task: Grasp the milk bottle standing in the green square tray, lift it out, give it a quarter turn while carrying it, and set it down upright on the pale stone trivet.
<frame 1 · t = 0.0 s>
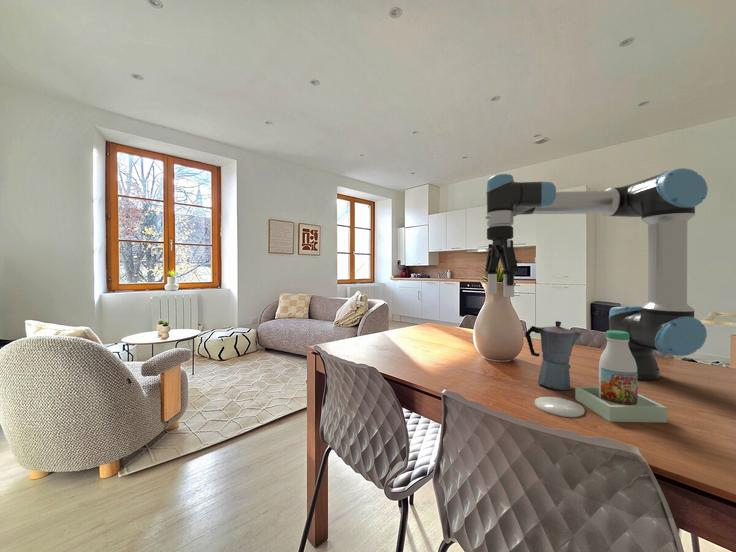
hand: (500, 295, 97), 28 cm above the table, fingers open, 13 cm apart
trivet: (558, 407, 81), on the table
moka pot: (552, 386, 97), on the table
milk bottle: (617, 410, 80), resting in green square tray
green square tray: (617, 409, 80), on the table
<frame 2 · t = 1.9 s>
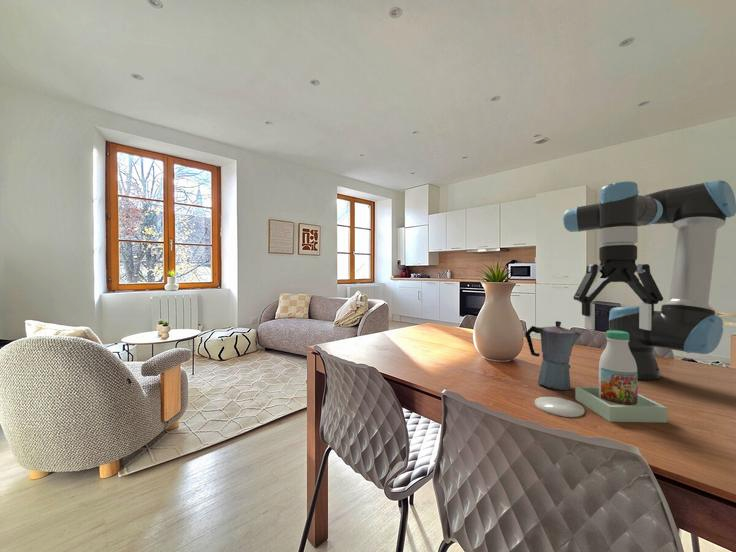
hand: (617, 329, 79), 21 cm above the table, fingers open, 13 cm apart
nothing on the table moved.
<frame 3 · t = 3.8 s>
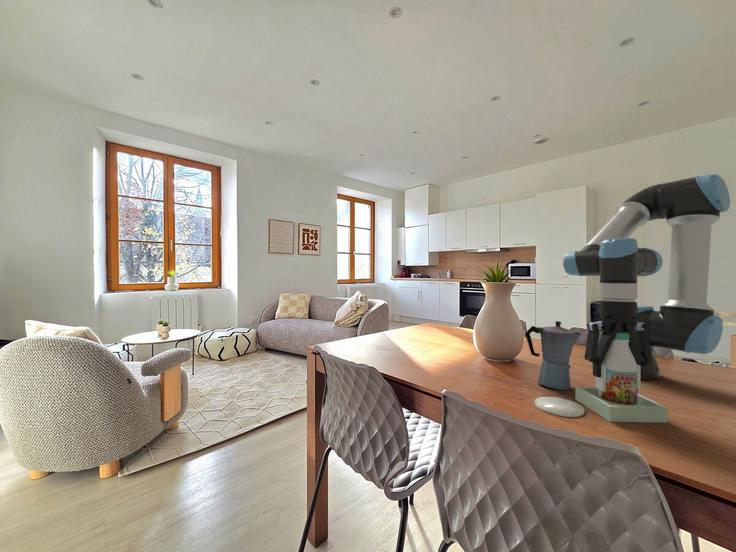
hand: (617, 389, 80), 5 cm above the table, fingers closed on milk bottle, 8 cm apart
milk bottle: (617, 410, 80), resting in green square tray, touching gripper
everything else where it was.
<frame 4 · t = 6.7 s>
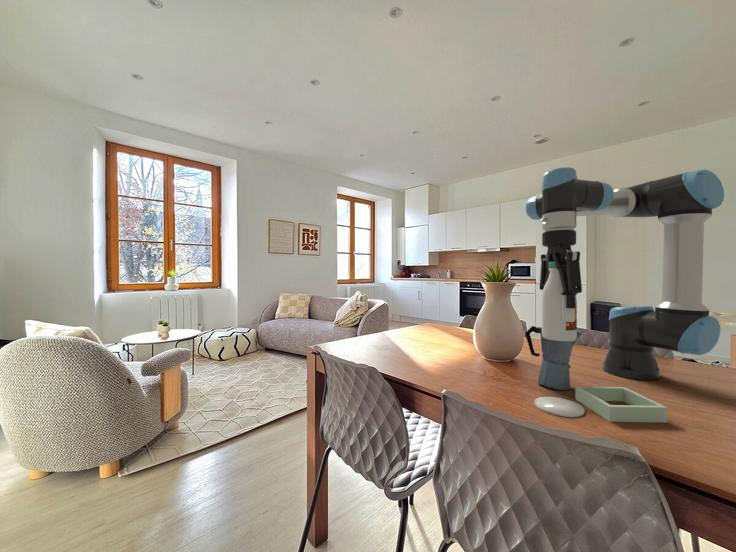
hand: (558, 318, 81), 23 cm above the table, fingers closed on milk bottle, 8 cm apart
milk bottle: (558, 339, 81), point 18 cm above the table, touching gripper
everything else where it was.
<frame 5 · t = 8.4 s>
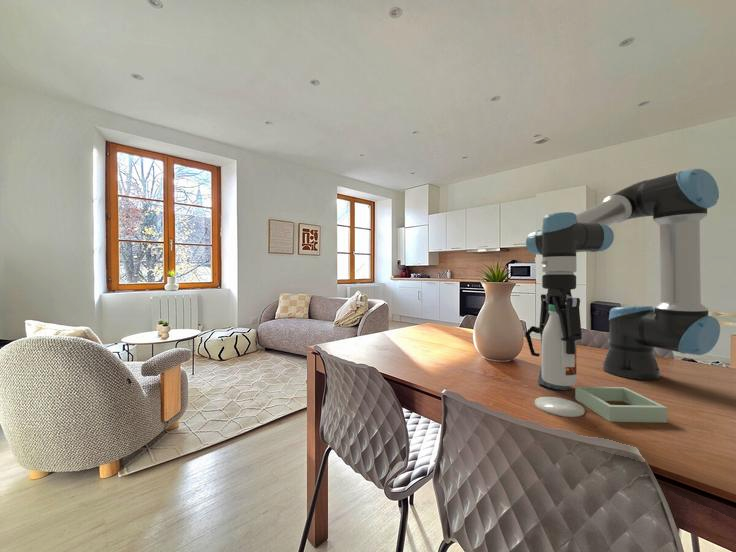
hand: (558, 361, 81), 12 cm above the table, fingers closed on milk bottle, 8 cm apart
milk bottle: (558, 382, 81), point 7 cm above the table, touching gripper
everything else where it was.
when the fingers open (8 cm above the table, at t = 9.8 s): milk bottle drops 2 cm, resting on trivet.
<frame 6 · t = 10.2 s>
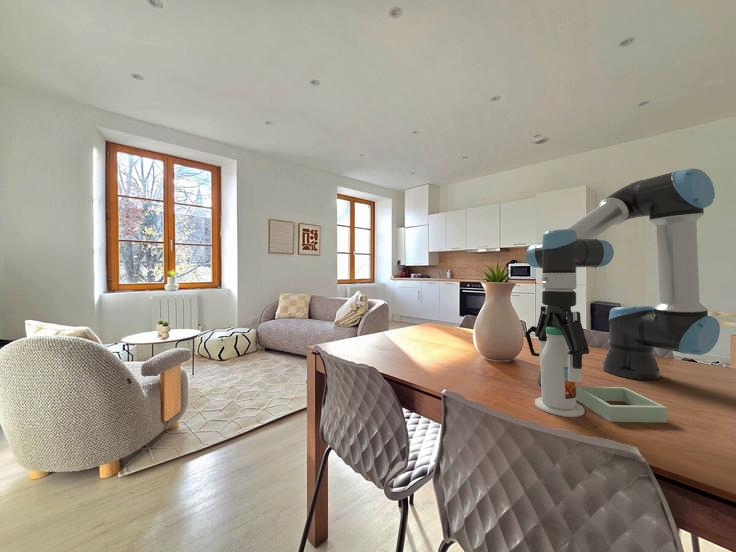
hand: (558, 372, 81), 9 cm above the table, fingers open, 13 cm apart
milk bottle: (558, 405, 81), point 1 cm above the table, touching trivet
everything else where it was.
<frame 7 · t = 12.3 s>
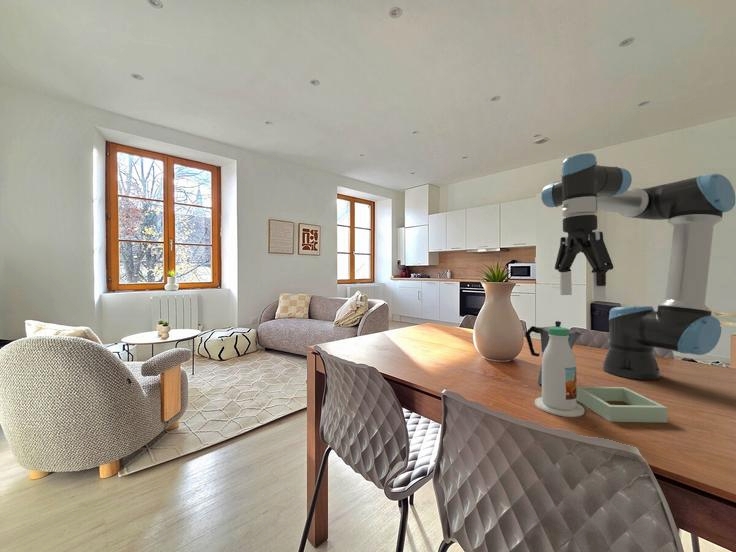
hand: (581, 297, 82), 28 cm above the table, fingers open, 13 cm apart
nothing on the table moved.
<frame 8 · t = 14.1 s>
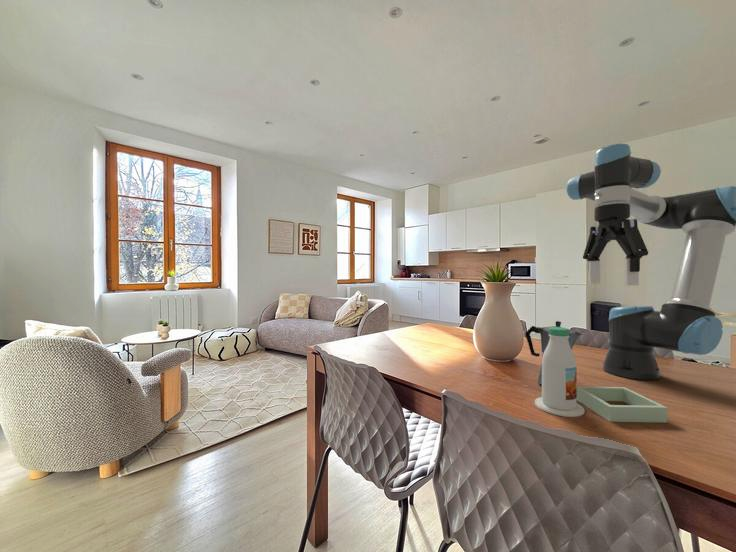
hand: (611, 284, 84), 32 cm above the table, fingers open, 13 cm apart
nothing on the table moved.
at the end: milk bottle 0.1 cm from the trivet (horizontally); milk bottle tilted 0°; the gripper is holding nothing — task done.
